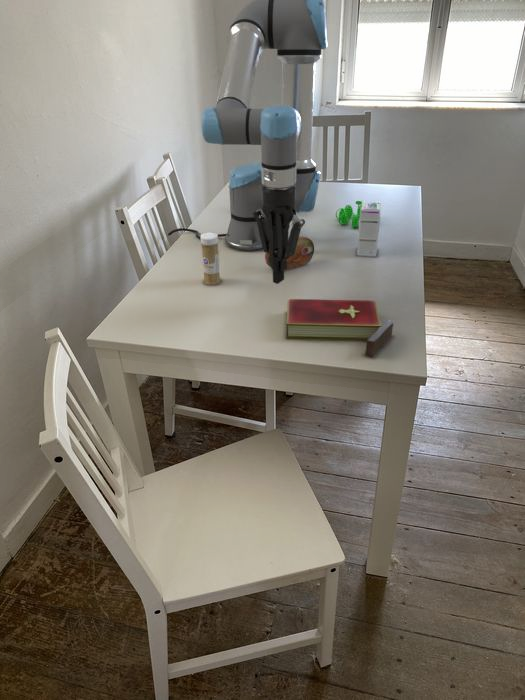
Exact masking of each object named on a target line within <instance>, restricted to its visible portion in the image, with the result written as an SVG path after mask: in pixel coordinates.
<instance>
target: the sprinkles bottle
mask: <svg viewBox="0 0 525 700" xmlns="http://www.w3.org/2000/svg"><path fill="white" fill-rule="evenodd" d="M200 236H201V237H200V245H201V254H202V270H203V282H204V283H205V285H208V286H215V285H217V284H219V283H220V282H221V273H220V257H219V255H220V254H219V237H218V235H217V233H215V232H205V233H202V234H200Z"/></svg>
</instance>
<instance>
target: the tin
mask: <svg viewBox="0 0 525 700" xmlns="http://www.w3.org/2000/svg"><path fill="white" fill-rule="evenodd" d="M288 240H289V237H288ZM314 253H315V244H314V242H313V241H312V240H311V239H310V238H309V237H306V236H304V235H299V238H298V242H297V246H296V250H295V254H294V255H293V256H291V257H290V258H288V259H287V268H286V270H285V271H287V270H290V269H293V268H298V267H301V266H305V265H306V264H308V263H309V262H310V261H311V260H312V258H313V257H314ZM264 260H265V264H266V265H267V266H268V267H269V268H271V266H270V264H271V263H270V255H269V253H267V252H266V253H265V252H264ZM271 270H273V268H271Z"/></svg>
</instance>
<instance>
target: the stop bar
mask: <svg viewBox="0 0 525 700" xmlns="http://www.w3.org/2000/svg"><path fill="white" fill-rule="evenodd" d="M393 328H394V321H391V320H388V319H387V320H386V321H384V323H383V324H381V327H379V329H378V330H377V331H376V332H375V333H374V334H373V335H372V336H371V337H370V338H369V339H368V340H367V341H366V347H365V354H364V355H365V356H366V357H369V358H373V357H374V356H375V355H376V354H377V353H378V352H379V351H380V350H381V349H382V348H383V346H385V344H386V343H387V342H388V341H389V340H390V339H391V338H392V336H393Z"/></svg>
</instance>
